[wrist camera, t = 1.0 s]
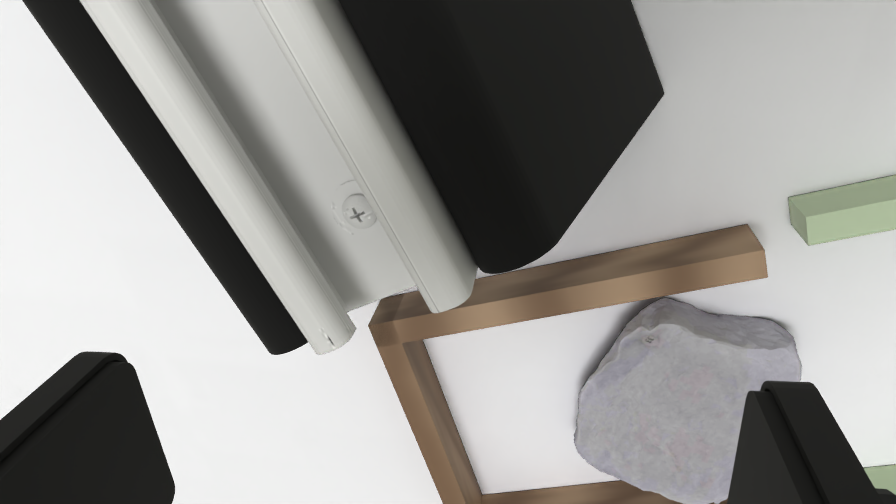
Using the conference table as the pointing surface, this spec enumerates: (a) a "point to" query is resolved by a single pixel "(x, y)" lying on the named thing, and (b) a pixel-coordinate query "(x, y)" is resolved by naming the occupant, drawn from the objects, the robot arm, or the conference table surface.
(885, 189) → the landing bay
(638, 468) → the stone block
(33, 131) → the conference table surface
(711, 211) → the conference table surface
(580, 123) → the device stand
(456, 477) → the brown wooden u frame
